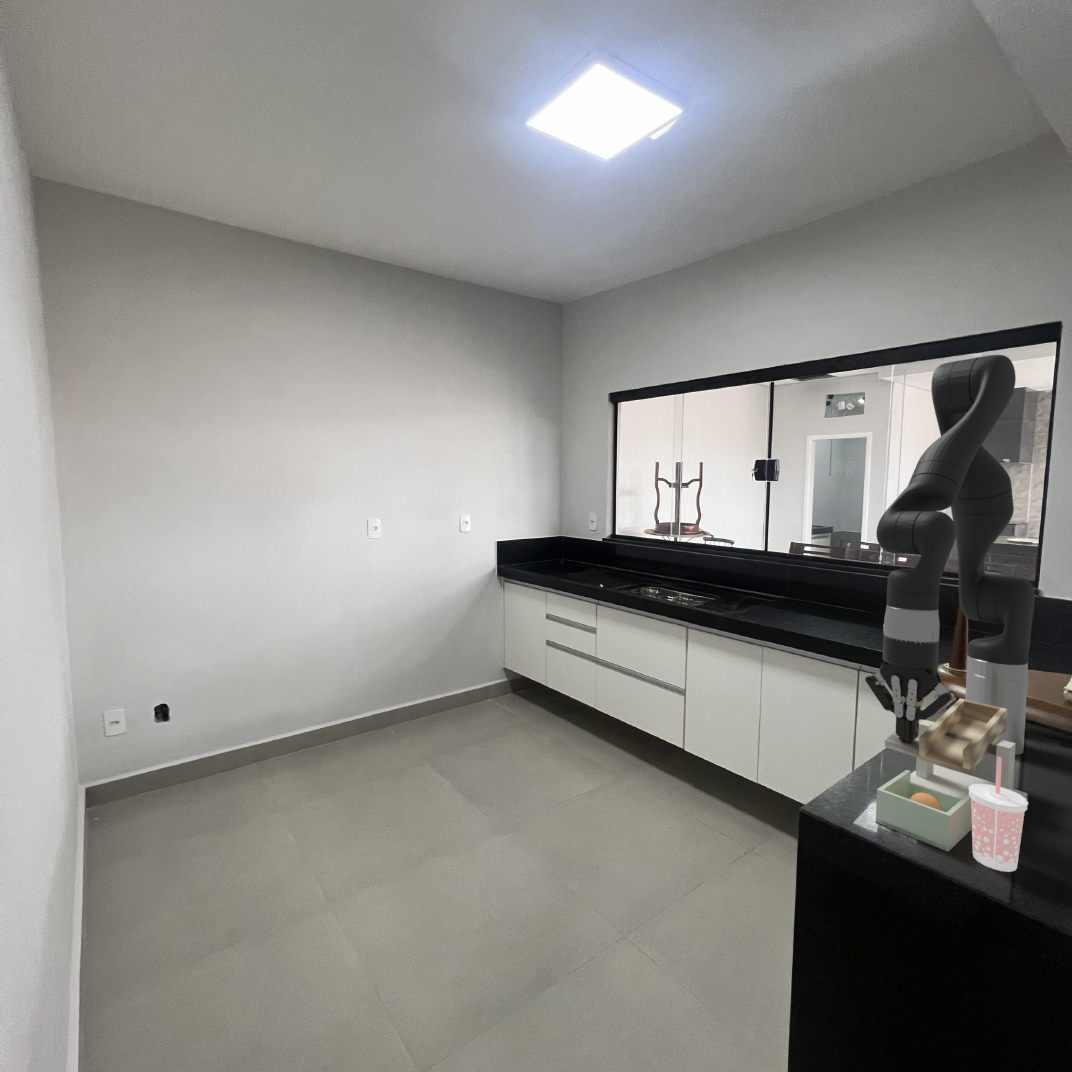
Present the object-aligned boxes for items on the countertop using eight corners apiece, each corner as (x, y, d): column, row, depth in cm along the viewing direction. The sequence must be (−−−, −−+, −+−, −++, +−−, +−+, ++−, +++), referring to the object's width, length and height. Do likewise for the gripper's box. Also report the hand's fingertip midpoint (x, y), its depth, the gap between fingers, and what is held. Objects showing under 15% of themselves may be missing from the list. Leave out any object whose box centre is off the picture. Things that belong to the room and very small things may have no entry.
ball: (904, 820, 86) (915, 806, 89) (936, 833, 83) (946, 818, 85) (903, 796, 86) (914, 783, 88) (934, 808, 82) (945, 794, 85)
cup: (906, 799, 93) (908, 768, 93) (976, 824, 86) (977, 791, 85) (875, 822, 86) (876, 789, 86) (948, 851, 79) (949, 815, 79)
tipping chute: (928, 715, 107) (927, 690, 106) (1013, 737, 97) (1013, 710, 96) (885, 755, 96) (884, 727, 95) (976, 784, 86) (976, 754, 85)
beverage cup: (1025, 859, 77) (1030, 756, 76) (1023, 882, 73) (1029, 772, 72) (968, 841, 81) (972, 743, 81) (963, 861, 77) (967, 757, 76)
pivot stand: (927, 767, 104) (929, 712, 104) (1027, 799, 93) (1030, 738, 93) (899, 787, 97) (901, 728, 96) (1003, 824, 86) (1007, 757, 85)
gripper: (968, 639, 91) (962, 748, 92) (877, 625, 101) (873, 722, 102) (950, 646, 86) (945, 760, 87) (857, 630, 97) (853, 732, 98)
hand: (906, 740), depth 95 cm, fingers closed
